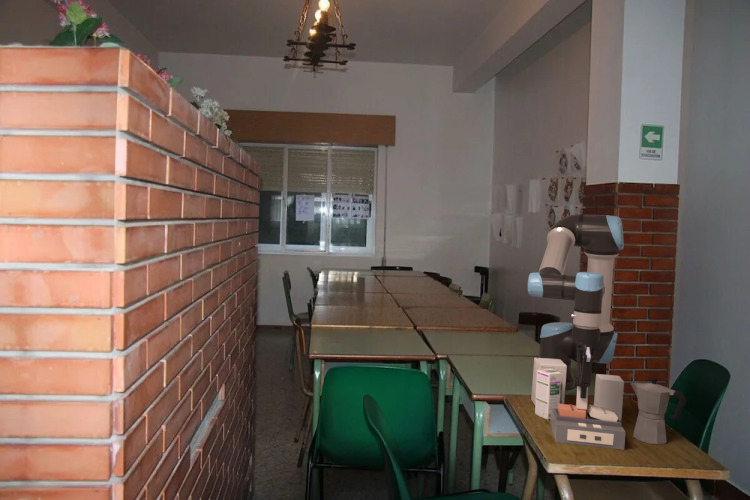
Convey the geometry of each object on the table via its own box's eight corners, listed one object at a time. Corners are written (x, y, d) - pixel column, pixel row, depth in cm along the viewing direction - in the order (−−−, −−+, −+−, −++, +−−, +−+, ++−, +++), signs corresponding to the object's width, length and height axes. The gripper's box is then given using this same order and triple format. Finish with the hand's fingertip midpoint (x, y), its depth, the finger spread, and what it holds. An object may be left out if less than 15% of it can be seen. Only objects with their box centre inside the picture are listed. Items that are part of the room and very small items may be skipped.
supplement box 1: (536, 408, 189) (539, 363, 188) (530, 400, 198) (533, 357, 197) (564, 410, 188) (567, 365, 187) (557, 401, 197) (560, 358, 196)
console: (550, 424, 175) (551, 404, 174) (613, 431, 171) (614, 410, 171) (555, 442, 161) (557, 420, 160) (624, 450, 157) (626, 428, 157)
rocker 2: (587, 410, 168) (590, 403, 168) (612, 418, 167) (614, 411, 167) (590, 416, 163) (593, 409, 163) (615, 424, 162) (618, 417, 162)
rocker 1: (557, 410, 170) (558, 402, 169) (582, 413, 168) (583, 405, 168) (559, 415, 165) (560, 408, 165) (585, 419, 163) (586, 411, 163)
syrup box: (547, 420, 179) (550, 373, 178) (534, 413, 184) (536, 368, 183) (561, 417, 181) (564, 372, 180) (547, 411, 186) (550, 367, 185)
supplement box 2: (621, 421, 180) (624, 381, 180) (596, 418, 182) (599, 379, 181) (616, 413, 188) (619, 375, 187) (592, 411, 189) (595, 373, 188)
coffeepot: (619, 435, 168) (624, 374, 167) (633, 428, 175) (637, 369, 174) (675, 452, 157) (681, 387, 156) (688, 444, 164) (693, 382, 163)
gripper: (569, 321, 172) (564, 400, 173) (576, 329, 159) (571, 414, 160) (596, 323, 170) (591, 402, 171) (605, 331, 157) (599, 417, 158)
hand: (581, 408), depth 166 cm, fingers closed
